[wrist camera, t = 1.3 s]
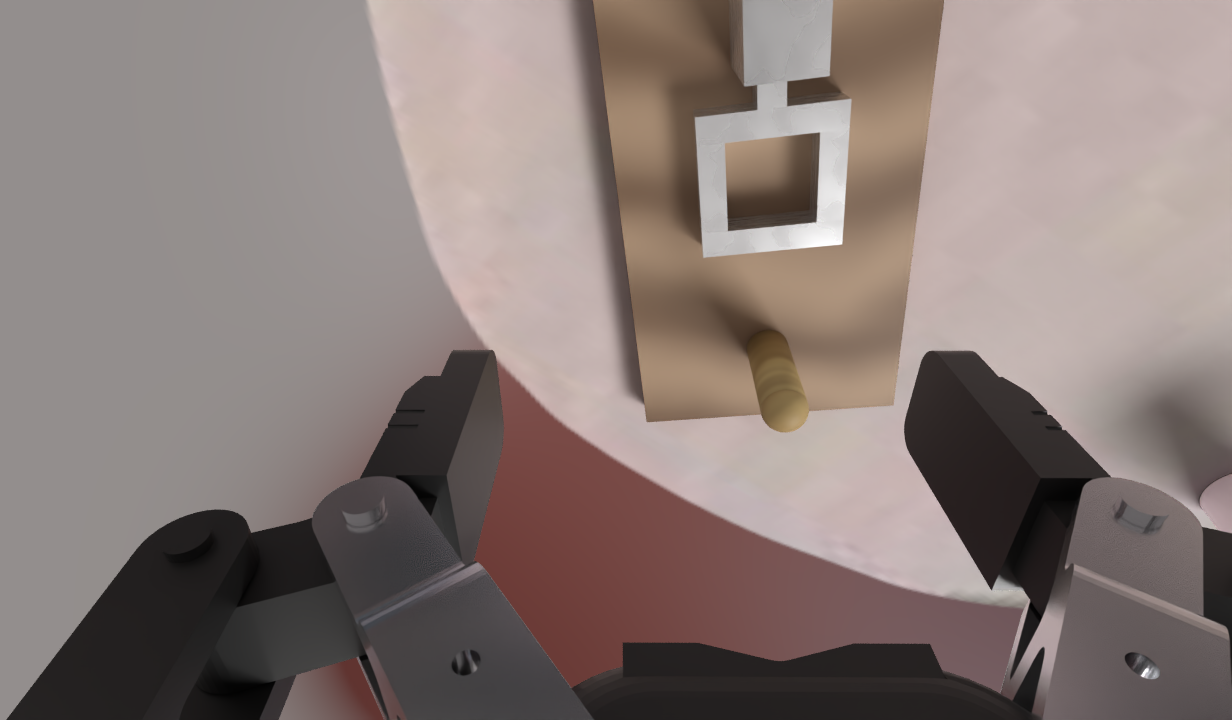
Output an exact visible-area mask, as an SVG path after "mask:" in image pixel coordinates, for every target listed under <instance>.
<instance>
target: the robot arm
mask: <svg viewBox="0 0 1232 720" xmlns="http://www.w3.org/2000/svg"><path fill="white" fill-rule="evenodd" d="M503 425H504V424H503V412H502V404H501V395H500V387H499V378H498V370H497V362H496V356H495V353H494V351H493V350H453V351H452V353H451V354H450V356H449V359H448V361H447V363H446V365H445V367H444V370H443V372H442V374H441V376H424V377H423V378H422V379H420V380H419V381H418V382H416V383H415V384H414V385H413V386H411V388H409V389H408V390H407V391H405V393H404V395H403V397H402V398H401V401H400V402H399V404H398V406H397V408H396V413H394V414H393V416H392V418H391V420H390V422H389V423H388V428H386V429H385V432H384V433H383V436H382V437H381V439H380V441H379V443H378V445H377V447H376V449H375V450H374V452H373V454H372V456H371V458H370V460H369V462H368V464H367V466H366V468H365V470H364V472H363V473H362V475H361V477H360V479H358V480H355V481H352V482H349V483H347V484H345V485H343V486H340V487H339V488H337V489H335V490H334V491H332V492H331V493H330V494H328V495H327V496H326V497H325V498H324V499H323V500H322V501H321V502H320V503H319V505H318V506H317V507H316V509H315V512H314V513H313V517H312V518H310V519H308V520H304V521H301V522H297V523H293V524H288V525H284V526H279V527H275V528H271V529H266V530H262V531H258V532H253V533H251V531H250V529H249V526H248V524H247V522H246V520H245V519H244V518H243V516H241V515H239V514H238V513H235V512H233V511H228V510H207V511H202V512H197V513H193V514H190V515H187V516H184V517H182V518H179V519H177V520H175V521H173V522H171V523H169V524H167V525H165V526H164V527H162V528H160V529H158V530H157V531H156V532H155V533H153V534H152V535H150V536H149V537H148V538H147V539H146V540H145V541H144V542H143V543H142V544H141V545H140V546H139V547H138V548H137V549H136V551H135V552H134V554H133V555H132V556H131V557H130V559H129V560H128V561H127V563H126V564H125V565H124V567H123V568H122V569H121V571H120V572H119V573H118V574H117V576H116V577H115V578H114V580H113V581H112V582H111V584H110V585H109V586H108V588H107V589H106V590H105V591H104V593H103V594H102V595H101V597H100V598H99V599H98V601H97V602H96V603H95V605H94V606H93V607H92V609H91V610H90V611H89V612H88V614H87V615H86V616H85V618H84V619H83V620H82V621H81V623H80V624H79V626H78V627H77V628H76V629H75V631H74V632H73V633H72V635H71V636H70V637H69V639H68V640H67V641H66V642H65V644H64V645H63V646H62V648H61V649H60V650H59V652H58V653H57V654H56V656H55V657H54V658H53V659H52V661H51V662H50V663H49V665H48V666H47V667H46V669H45V670H44V671H43V673H42V674H41V675H40V676H39V678H38V679H37V680H36V682H35V683H34V684H33V686H32V687H31V688H30V690H29V691H28V692H27V693H26V695H25V696H24V697H23V699H22V700H21V701H20V703H19V704H18V705H17V706H16V708H15V709H14V711H13V712H12V713H11V714H10V716H9V717H8V718H7V720H278V719H279V717H280V715H281V712H282V710H283V707H284V705H285V702H286V700H287V697H288V695H289V692H290V690H291V687H292V685H293V682H294V679H295V677H296V675H297V674H301V673H304V672H307V671H311V670H314V669H318V668H321V667H325V666H328V665H332V664H335V663H338V662H342V661H345V660H348V659H352V658H356V657H357V659H358V661H359V664H360V666H361V668H362V670H363V673H364V675H365V677H366V679H367V682H368V684H369V686H370V688H371V691H372V693H373V695H374V697H375V700H376V702H377V704H378V707H379V709H380V711H381V713H382V716H383V718H384V720H1232V533H1228V532H1223V531H1219V530H1214V529H1209V528H1204V527H1202V526H1201V524H1200V522H1199V520H1198V519H1197V518H1196V516H1195V515H1194V514H1193V513H1192V512H1191V511H1190V510H1189V509H1188V508H1187V507H1185V506H1184V505H1183V504H1182V503H1180V502H1179V501H1177V500H1176V499H1174V498H1173V497H1171V496H1169V495H1167V494H1166V493H1164V492H1162V491H1160V490H1157V489H1155V488H1153V487H1150V486H1148V485H1145V484H1142V483H1139V482H1135V481H1132V480H1127V479H1122V478H1112V477H1111V476H1110V475H1109V474H1108V473H1107V472H1106V471H1105V470H1104V469H1103V468H1102V467H1101V466H1100V465H1099V464H1098V463H1097V462H1096V461H1095V460H1094V459H1093V458H1092V457H1091V456H1090V455H1089V454H1088V453H1087V452H1086V451H1085V450H1084V449H1083V448H1082V447H1081V446H1080V444H1079V443H1078V442H1077V441H1076V440H1075V439H1074V438H1073V437H1072V436H1071V435H1070V434H1069V433H1068V432H1067V431H1066V430H1062V426H1061V425H1060V424H1059V423H1058V422H1057V421H1056V420H1055V419H1054V418H1053V417H1052V416H1051V415H1047V410H1046V409H1045V408H1044V407H1043V406H1042V405H1041V404H1040V403H1039V402H1038V401H1037V400H1036V399H1035V398H1034V397H1033V396H1032V395H1031V394H1030V393H1029V392H1027V391H1025V390H1024V389H1022V388H1020V387H1019V386H1017V385H1015V384H1014V383H1012V382H1010V381H1008V380H1007V379H1005V378H1003V377H998V376H997V375H996V374H995V372H994V371H993V370H992V369H991V368H990V367H989V366H988V365H987V364H986V363H985V362H984V361H983V360H982V359H981V357H980V356H979V355H978V354H977V353H975V352H973V351H929V352H927V353H926V354H925V355H924V357H923V359H922V361H921V364H920V368H919V371H918V375H917V379H916V382H915V386H914V390H913V393H912V397H911V400H910V404H909V408H908V411H907V415H906V419H905V425H904V435H905V442H906V446H907V449H908V451H909V453H910V455H911V456H912V458H913V460H914V462H915V463H916V465H917V467H918V468H919V470H920V472H921V473H922V475H923V477H924V478H925V480H926V482H927V483H928V485H929V487H930V488H931V490H932V492H933V493H934V495H935V497H936V498H937V500H938V502H939V503H940V505H941V507H942V508H943V510H944V512H945V513H946V515H947V517H948V518H949V520H950V522H951V523H952V525H953V527H954V528H955V530H956V532H957V533H958V535H959V537H960V538H961V540H962V542H963V544H964V545H965V547H966V549H967V550H968V552H969V554H970V555H971V557H972V559H973V560H974V562H975V564H976V565H977V567H978V569H979V570H980V572H981V574H982V575H983V577H984V579H985V580H986V582H987V584H988V585H989V587H990V589H991V590H992V591H1025V593H1026V594H1027V596H1028V597H1029V601H1028V603H1027V605H1026V607H1025V609H1024V611H1023V613H1022V616H1021V620H1020V623H1019V627H1018V630H1017V634H1016V638H1015V641H1014V645H1013V649H1012V652H1011V656H1010V660H1009V663H1008V667H1007V671H1006V674H1005V678H1004V681H1003V685H1002V688H1001V692H1000V694H999V693H998V692H996V691H994V690H992V689H990V688H988V687H986V686H983V685H981V684H979V683H976V682H974V681H972V680H970V679H967V678H964V677H961V676H958V675H955V674H952V673H949V672H945V671H942V669H941V667H940V665H939V663H938V661H937V659H936V656H935V654H934V652H933V650H932V648H931V645H930V644H851V645H847V646H843V647H839V648H835V649H831V650H827V651H823V652H820V653H815V654H811V655H808V656H804V657H800V658H796V659H792V660H787V661H773V660H768V659H764V658H760V657H755V656H751V655H747V654H743V653H738V652H734V651H730V650H725V649H722V648H717V647H713V646H709V645H705V644H700V643H623V667H620V668H616V669H613V670H609V671H606V672H603V673H601V674H598V675H596V676H593V677H591V678H589V679H587V680H585V681H583V682H581V683H580V684H578V685H576V686H574V687H573V688H570V686H569V685H568V683H567V682H566V680H565V679H564V678H563V676H562V675H561V674H560V672H559V671H558V669H557V668H556V667H555V665H554V664H553V662H552V661H551V660H550V658H549V657H548V656H547V654H546V653H545V651H544V650H543V649H542V647H541V646H540V645H539V643H538V642H537V640H536V639H535V638H534V636H533V635H532V634H531V632H530V631H529V629H528V628H527V627H526V625H525V624H524V622H523V621H522V620H521V618H520V617H519V615H518V614H517V613H516V611H515V610H514V609H513V607H512V606H511V605H510V603H509V602H508V600H507V599H506V598H505V596H504V595H503V594H502V592H501V591H500V589H499V588H498V587H497V585H496V584H495V582H494V581H493V580H492V579H491V577H490V575H489V574H488V573H487V572H486V570H485V569H484V568H483V567H482V566H481V565H480V564H479V563H478V562H476V561H474V558H475V554H476V550H477V546H478V542H479V538H480V534H481V530H482V526H483V522H484V518H485V514H486V510H487V506H488V502H489V498H490V494H491V491H492V487H493V483H494V479H495V474H496V470H497V467H498V463H499V459H500V455H501V451H502V445H503V432H504V426H503Z"/></svg>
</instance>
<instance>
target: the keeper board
mask: <svg viewBox="0 0 1232 720" xmlns="http://www.w3.org/2000/svg"><path fill="white" fill-rule="evenodd" d="M943 5H944V0H833V12H832V34H831V56H830V76H826V77H818V78H810V79H802V80H794V81H787V98H792V97H801V96H809V95H817V94H825V93H833V92H843V93H845V94H846V95H847V96H849V97H850V98H851V114H850V130H849V146H848V162H847V178H846V193H845V209H844V225H843V241H842V244H841V245H831V246H820V247H810V248H800V249H789V250H779V251H768V252H758V253H747V254H737V255H727V256H716V257H706V258H703V253H702V246H701V232H700V216H699V199H698V183H697V166H696V150H695V133H694V117H693V110H694V109H702V108H710V107H718V106H727V105H735V104H743V103H751V102H753V90H752V86H746V87H744V85H743V84H742V82H741V81H740V79H739V78H738V76H737V75H736V73H735V71H734V70H733V68H732V67H731V58H730V25H729V0H593V6H594V14H595V21H596V29H597V37H598V45H599V53H600V60H601V68H602V76H603V84H604V92H605V100H606V107H607V115H608V123H609V131H610V139H611V146H612V154H613V162H614V170H615V178H616V185H617V193H618V201H619V209H620V217H621V225H622V232H623V240H624V248H625V256H626V264H627V271H628V279H629V287H630V295H631V303H632V311H633V318H634V326H635V334H636V342H637V350H638V357H639V365H640V373H641V381H642V389H643V396H644V404H645V412H646V420H647V422H657V421H671V420H686V419H700V418H715V417H730V416H744V415H759V414H761V415H762V418H763V420H764V421H765V423H766V424H767V425H768V426H769V427H770V428H772V429H773V430H776V431H779V432H791V431H794V430H797V429H798V428H800V427H801V426H802V425H803V424H804V423H805V421H806V419H807V417H808V413H809V411H817V410H832V409H846V408H861V407H875V406H890V405H893V404H894V396H895V388H896V380H897V372H898V364H899V356H900V348H901V340H902V332H903V324H904V316H905V308H906V300H907V292H908V284H909V276H910V268H911V260H912V252H913V244H914V236H915V228H916V220H917V212H918V204H919V197H920V189H921V181H922V173H923V165H924V157H925V149H926V141H927V133H928V125H929V117H930V109H931V101H932V93H933V85H934V77H935V69H936V61H937V53H938V45H939V37H940V29H941V21H942V13H943ZM811 155H812V133H809V134H800V135H792V136H783V137H774V138H766V139H757V140H748V141H739V142H731V143H725V164H726V192H727V219H730V218H740V217H750V216H759V215H769V214H779V213H789V212H798V211H808V210H810V185H811Z"/></svg>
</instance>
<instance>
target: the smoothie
mask: <svg viewBox="0 0 1232 720" xmlns="http://www.w3.org/2000/svg"><path fill="white" fill-rule="evenodd" d="M1200 506H1201V508H1202V509H1203V510H1204V512H1205V513H1206V514H1207V516H1208V517H1209V518H1210V520H1211V521H1212V523H1213V524H1214V525H1215V527H1216V528H1217V529H1218V530H1219V531H1223V532H1228V533H1232V474H1230V475H1227V476H1224V477H1222V478H1220V479H1218V480H1216V481H1215V482H1213V483H1212V484H1210V485H1209V486H1208V487H1207V488H1206V489H1205V490H1204V492H1203V493H1202V495H1201V497H1200Z"/></svg>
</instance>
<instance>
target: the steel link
mask: <svg viewBox="0 0 1232 720" xmlns="http://www.w3.org/2000/svg"><path fill="white" fill-rule="evenodd" d="M832 12H833V0H729V25H730V58H731V67H732V68H733V70H734V71H735V73H736V75H737V76H738V78H739V79H740V81H741V82H742V84H743V85H744V87H746V86H752V90H753V102H751V103H743V104H735V105H727V106H718V107H710V108H702V109H694V110H693V117H694V133H695V150H696V166H697V183H698V199H699V216H700V232H701V246H702V253H703V258H706V257H716V256H727V255H737V254H747V253H758V252H768V251H779V250H789V249H800V248H810V247H820V246H831V245H841V244H842V241H843V225H844V209H845V193H846V178H847V162H848V146H849V130H850V114H851V98H850V97H849V96H847V95H846V94H845V93H843V92H833V93H825V94H817V95H809V96H801V97H792V98H787V81H794V80H802V79H810V78H818V77H826V76H830V56H831V34H832ZM809 133H812V155H811V185H810V210H808V211H798V212H789V213H779V214H769V215H759V216H750V217H740V218H730V219H727V192H726V164H725V143H731V142H739V141H748V140H757V139H766V138H774V137H783V136H792V135H800V134H809Z"/></svg>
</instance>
